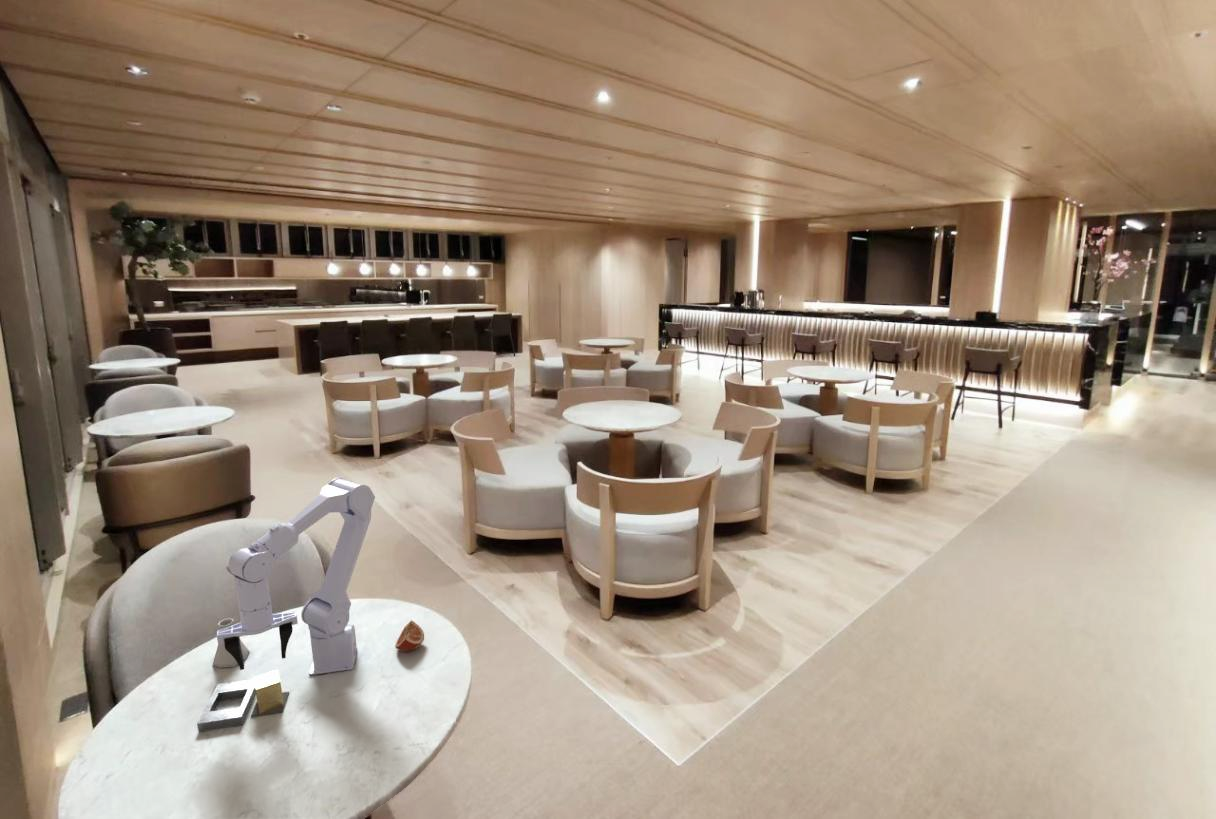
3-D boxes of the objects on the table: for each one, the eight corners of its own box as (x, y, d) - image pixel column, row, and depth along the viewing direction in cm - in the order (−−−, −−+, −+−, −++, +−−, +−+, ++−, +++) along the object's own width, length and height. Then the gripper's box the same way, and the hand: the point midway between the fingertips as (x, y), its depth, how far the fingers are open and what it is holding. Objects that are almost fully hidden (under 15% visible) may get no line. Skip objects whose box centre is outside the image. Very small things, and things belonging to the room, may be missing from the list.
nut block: (280, 693, 134) (277, 669, 132) (283, 705, 130) (280, 681, 129) (257, 701, 131) (253, 677, 130) (259, 714, 128) (256, 689, 126)
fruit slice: (400, 637, 155) (398, 620, 154) (427, 636, 156) (426, 618, 154) (392, 658, 147) (391, 640, 145) (421, 656, 147) (420, 638, 146)
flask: (255, 650, 149) (250, 614, 146) (235, 670, 142) (229, 632, 139) (228, 648, 149) (222, 612, 147) (206, 667, 142) (199, 629, 140)
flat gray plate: (289, 693, 135) (289, 691, 134) (282, 712, 129) (282, 710, 129) (259, 697, 133) (258, 696, 133) (251, 717, 127) (250, 715, 127)
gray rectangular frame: (259, 686, 137) (258, 678, 136) (242, 725, 125) (241, 716, 125) (218, 691, 135) (217, 684, 134) (198, 732, 123) (197, 723, 123)
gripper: (293, 586, 133) (299, 641, 136) (214, 604, 126) (223, 661, 129) (295, 602, 127) (302, 658, 131) (212, 621, 120) (222, 680, 124)
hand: (263, 661), depth 130 cm, fingers open, 7 cm apart
